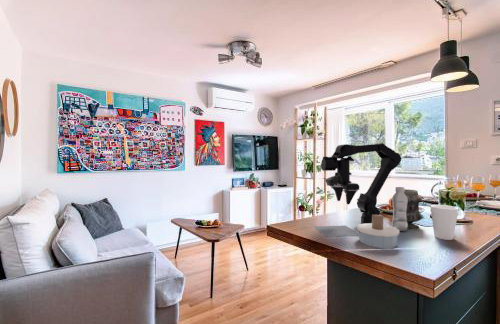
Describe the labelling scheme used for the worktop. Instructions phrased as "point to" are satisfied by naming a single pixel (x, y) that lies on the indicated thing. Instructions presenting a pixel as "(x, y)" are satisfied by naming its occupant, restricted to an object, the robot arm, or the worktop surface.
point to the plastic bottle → (400, 209)
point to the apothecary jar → (413, 208)
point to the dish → (378, 241)
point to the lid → (378, 228)
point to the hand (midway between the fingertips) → (343, 202)
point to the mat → (336, 231)
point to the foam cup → (444, 221)
